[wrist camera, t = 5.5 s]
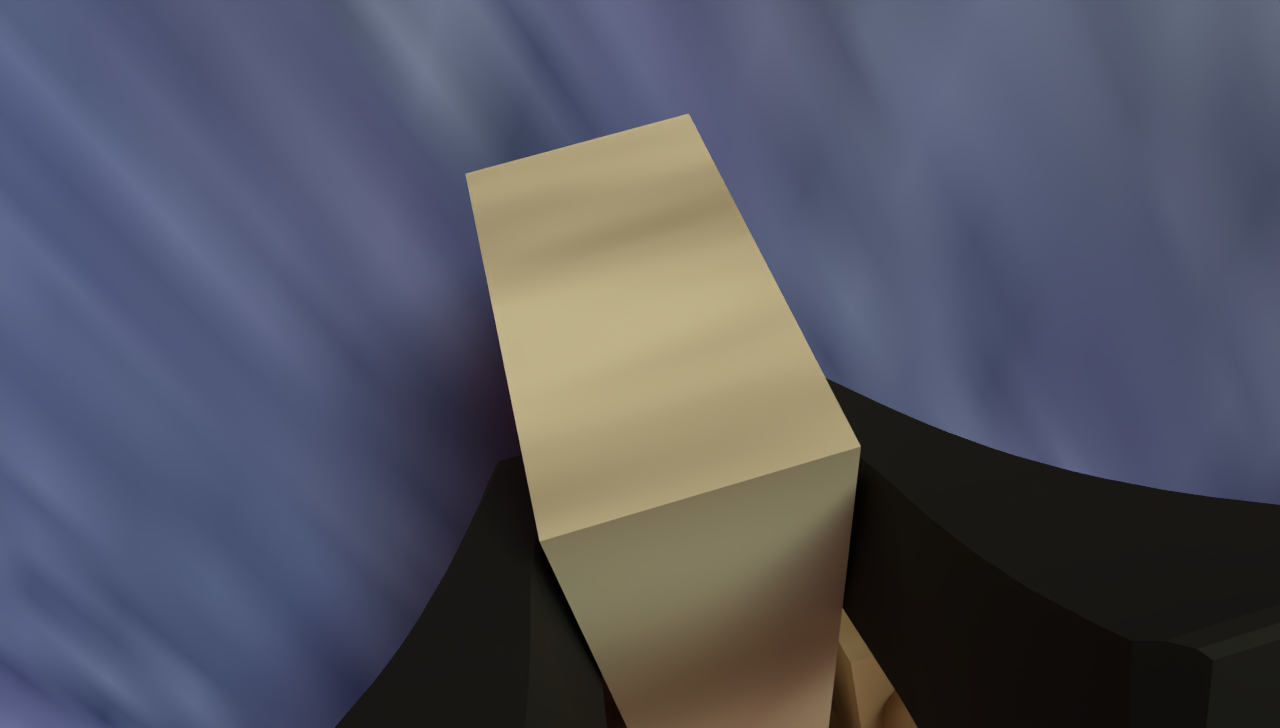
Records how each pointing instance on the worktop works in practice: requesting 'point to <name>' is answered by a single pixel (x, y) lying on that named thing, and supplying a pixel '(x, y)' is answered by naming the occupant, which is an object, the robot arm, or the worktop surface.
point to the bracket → (839, 689)
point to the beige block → (670, 430)
